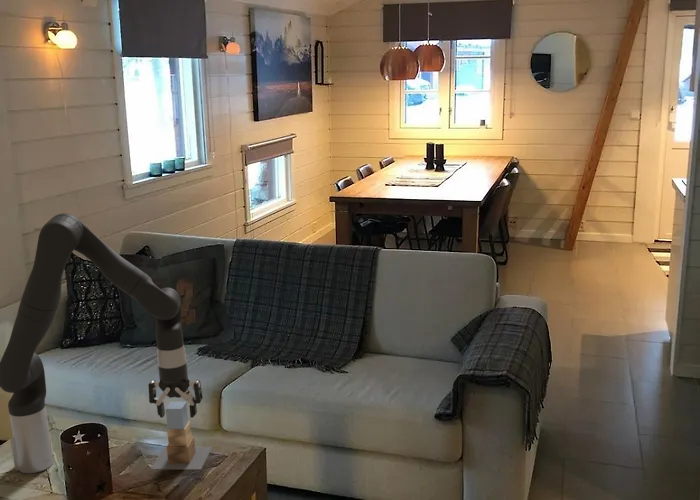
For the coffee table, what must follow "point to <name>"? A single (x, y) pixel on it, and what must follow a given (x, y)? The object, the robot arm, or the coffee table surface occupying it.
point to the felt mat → (195, 463)
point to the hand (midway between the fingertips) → (177, 416)
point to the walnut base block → (181, 452)
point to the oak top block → (179, 436)
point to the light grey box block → (177, 415)
